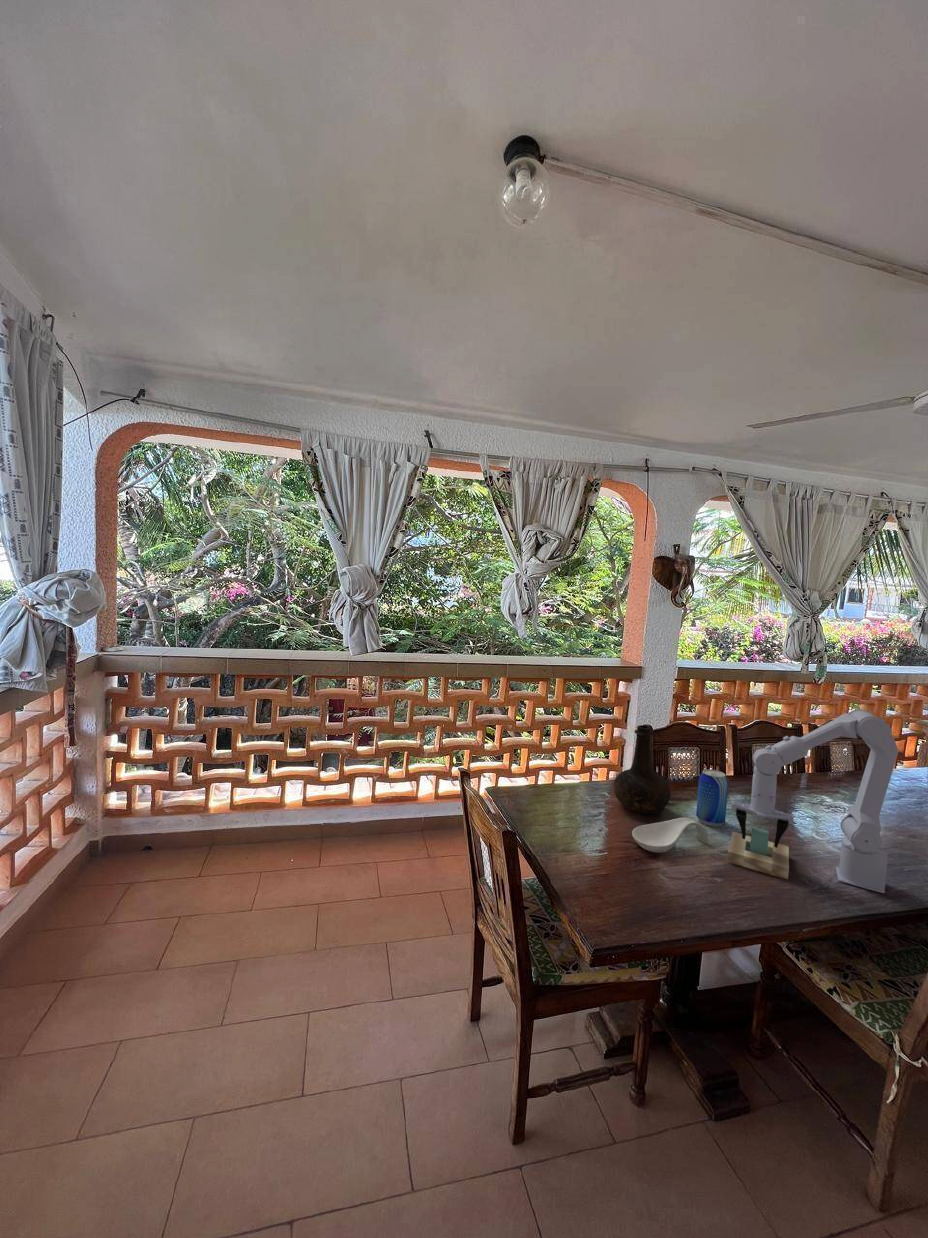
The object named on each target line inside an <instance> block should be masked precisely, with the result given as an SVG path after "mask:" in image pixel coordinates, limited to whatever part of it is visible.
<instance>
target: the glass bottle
mask: <svg viewBox="0 0 928 1238" xmlns="http://www.w3.org/2000/svg"><path fill="white" fill-rule="evenodd" d="M634 734H636V739H635V747H634V754H633V758H632V764H631V767H630V768H629V769H626V770H623V771H621V772H619V774H617V775H616V777H615V779H614V781H613V792H614V795H615V797H616V799H617V801H618V802H619V803H620V804H621V805H622V806H623V807H624V808H625V809H627V810H629V811H631V812H634V813H638V814H641V815H642V814H643V815H644V814H645V815H651V814H657V813H659V812H661V811H663V810H664V809H666V807H667V806H668V804H669V802H670V799H671V788H670V785H669V783H668V782H667V780H666V779H665V778H664V776H663V775H662V774H660V772H658V771H656V770H654V769H653V764H652V763H653V762H652V756H651V754H652V753H651V752H652V751H651V735H653V734H654V732H653V731H652V727H650V726H649V725H646V724H644V725H643V724H640V725H637V727H636V729H635V730H634Z"/></svg>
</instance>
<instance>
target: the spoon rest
mask: <svg viewBox="0 0 928 1238" xmlns="http://www.w3.org/2000/svg"><path fill="white" fill-rule="evenodd" d="M690 826H694V827H695V838H696V839H698V840H699V841H700V842H702V843H704V844H707V845H708V844H710V843H709V842H710V840H709V834H708V832H707V829H706V828H705V827H704V826H703V824H702V823H698V822H697V821H696V820H694V819H692V818H690V817H678V818H674V819H670V820H665V821H660V822H654V823H649V824H643V825H639V826H637V827H635V828H633V829H632V832H631V834H632V838H633V839H634V841H635V843H637V844H638V846H640V847H641V848H643V849H644V850H647V851H649V852H651V853H658V854H663V853H665V852H668V851H670V850H671V849H672V848H673V847H674V846H675V845H676V844H677V842H678V841H679V839H680V838H681V836H682V834H683V832H685V830H686V829H687V828H688V827H690Z"/></svg>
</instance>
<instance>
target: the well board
mask: <svg viewBox="0 0 928 1238" xmlns="http://www.w3.org/2000/svg"><path fill="white" fill-rule="evenodd" d="M774 844H775V842H773V841H769V840H768V848H767V856H765V855H761V854H757V853H754V852H750V845H751V835H746V836H745V839H742V833H739V832H735V831H732V833H731V838H730V843H729V847H728V850H727V861H726V862H727V863H728V864H733V865H736V866H740V867H743V868H746V869H749V870H750V869H751V870H754V871H757V872H761V873H763V874H767V875H771V876H774V877H778V878H781V879H784V880H789V872H790V858H789V857H790V855H789V854H790V853H789V850H790V849H789V846H788V845H785V844H781V843H778V847H777V848H776V847H774Z"/></svg>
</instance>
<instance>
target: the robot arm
mask: <svg viewBox="0 0 928 1238" xmlns="http://www.w3.org/2000/svg"><path fill="white" fill-rule="evenodd" d="M857 736H859V737H860V738H862V741H863V742H864V743H865V744H866V745H867V746H868V747H869V749H870V751H869V755H868V758H867V760H866V761H867V762H866V764H865V768H864V772H863V775H862V779H861V781H860V784H859V788H858V792H857V796H856V798H855V802H854V805H853V806H851V807H850V808H848V812H847V813H846V815H845V816H843V818H842V819H841V820H840V824H839V825H840V829H841V831H842V833H844V836H843V838H842V839H841V847H840V855H839V866H835V872H836V876H837V877H836V878H837V880H838V881H839V882H841V883H844V884H847V885H852V886H855V887H858V888H859V887H860V888H861V889H862V888H863V889H865V890H870V891H873V892H876V893H881V894H885V893H886V891H885V890H886V881H887V872H888V871H887V870H888V858H887V854H886V852H883V851H879V850H880V848H881V846H882V838H881V831H882V827H881V822H880V814H881V810H882V807H883V804H884V801H885V798H886V794H887V791H888V787H889V785H890V781H891V779H892V775H893V771H894V768H895V765H896V761H897V758H898V755H899V747H898V745H897V743H896V740H895V737H894V735H893V729H892V727H890V726H889V724H888V723H887V722H885V721H884V720H883V719H882V718H881V717H878V716H876V715H874V714H872V712H869V710H865V709H862V708H857V709H853V710H851V711H849V712H848V713H843V714H841V715H839V716H838V717H835V719H832V720H831V721H829V722H827V723H826V724H825V723H824V724H823V725H821V726H820V727H818V728H816V729H814V730H812V731H811V732H808V733H806V734H805V735H803V736H800V737H799V736H795V735H791V736H788V735H785V736H783V737H782V739H783V740H781V741H779V742H777V743H775V744H772V745H770V744H769V745H768V744H767V746H766V748H760V749H757V750H756V751H754V753H753V755H752V757H751V760H752V762H753V763H754V766H753V767H754V768H753V774H752V783H751V785H752V786H751V795H750V796H751V797H750V803H746V802H744V803H743V802H737V801H732V804H731V811H734V812H735V816H736V818H737V821H738V825H739V827H740V830H741V831H740V832H741V834H742V839H745V836H747V834H746V832H747V827H746V826H747V814H750V815H755V816H758V817H760V818H767V819H770V820H771V819H772V820H775V821H776V832H775V839H774V843H775V844H774V847H776V848H777V847H778V844H780V841H781V838H782V837H783V835H784V834H785V832H786V831H787V829H788V828H789V825H794V818H795V817H794V815H793V814H789V813H786V812H783V811H781V810H777V809H775V807H776V797H777V783H778V780H777V776H778V773H779V772H780V771H781V769H782V767H785V766H787V765H789V764H791V763H793V762H795V761H798V760H800V759H802V758H804V757H807V755H808V754H809V750H811V749H813V748H815V747H817V746H820V745H822V744H824V743H827V742H829V741H832V740H835V739H838V738H839V737H843V738H844V737H845V738H851V739H858V737H857Z"/></svg>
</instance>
